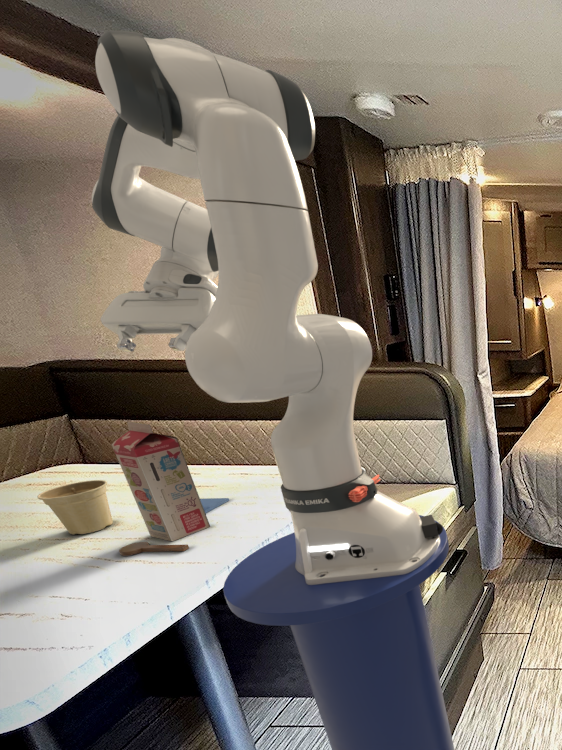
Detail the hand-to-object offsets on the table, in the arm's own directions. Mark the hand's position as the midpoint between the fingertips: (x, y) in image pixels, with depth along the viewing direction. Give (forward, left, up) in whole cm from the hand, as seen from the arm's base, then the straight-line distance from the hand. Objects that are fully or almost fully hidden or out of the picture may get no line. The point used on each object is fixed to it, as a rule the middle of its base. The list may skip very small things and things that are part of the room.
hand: (150, 349), depth 91 cm
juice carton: (+2, +5, -35) cm, 35 cm away
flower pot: (+22, +3, -35) cm, 41 cm away
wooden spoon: (0, +13, -34) cm, 37 cm away
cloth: (+8, -6, -34) cm, 36 cm away
